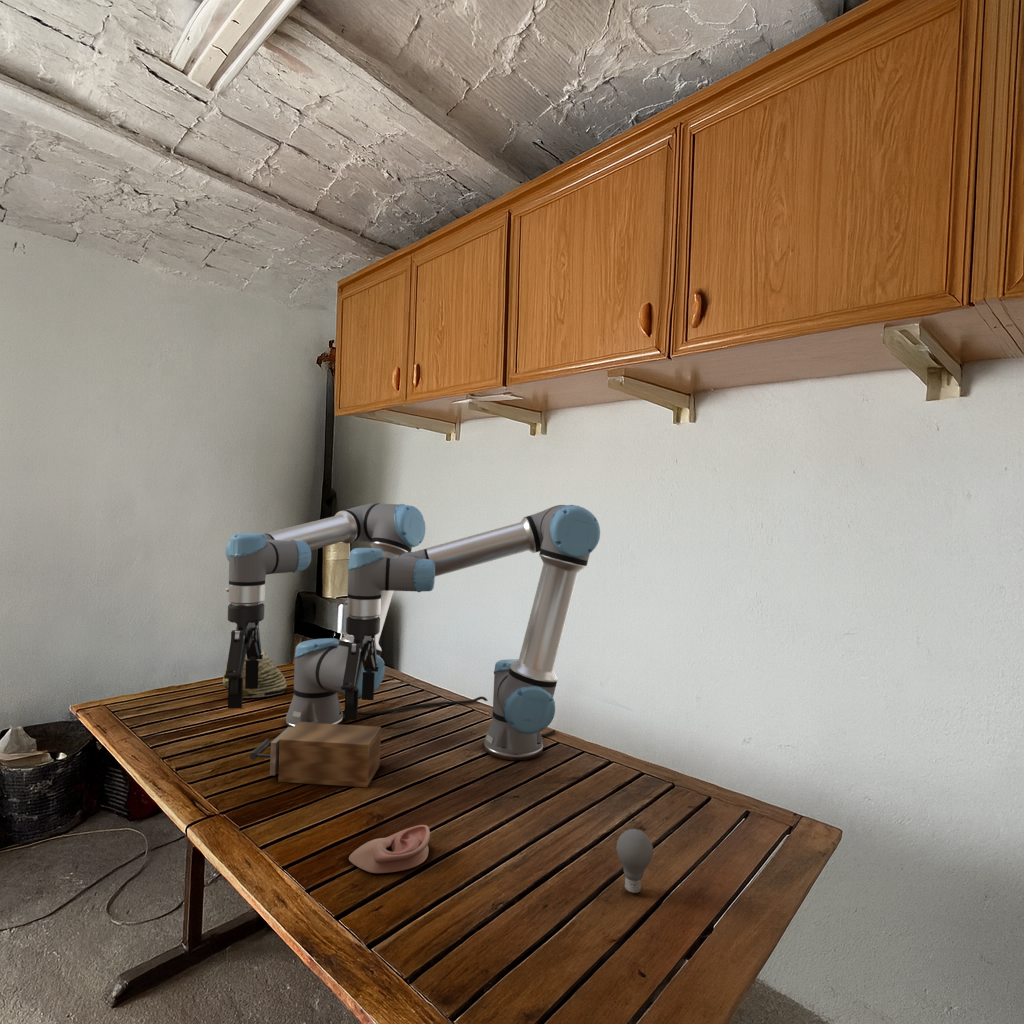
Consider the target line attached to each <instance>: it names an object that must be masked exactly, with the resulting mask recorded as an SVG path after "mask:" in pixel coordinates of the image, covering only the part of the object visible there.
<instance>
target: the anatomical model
mask: <svg viewBox="0 0 1024 1024" xmlns="http://www.w3.org/2000/svg"><path fill="white" fill-rule="evenodd" d="M430 838H431V830H430V827H429V826H428V825H427V824H419V825H413V826H411V827H409V828H405V829H403V830H400V831H398V832H396V833H393V834H391V835H389V836H386V837H379V838H375V839H372V840H369V841H367V842H365V843H364V844H362V845H360V846H358V848H356V849H355V850H353V852H352V853H350V855H349V857H348V860H349V862H350V863H351V864H352V865H354V866H356V867H357V868H358V869H361V870H363V871H365V872H367V873H369V874H370V873H371V874H387V873H388V874H389V873H396V872H401V871H405V870H409V869H412V868H415V867H418V866H419V865H421V864H422V863H425V861H426V860H427V859H428V856H429V842H430Z"/></svg>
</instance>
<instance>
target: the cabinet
mask: <svg viewBox="0 0 1024 1024" xmlns="http://www.w3.org/2000/svg"><path fill="white" fill-rule="evenodd" d="M381 736H382V726H373V725H358V724H357V725H356V724H355V725H354V724H323V723H306V722H298V723H297V724H296V725H295V726H294V727H293V728H292V729H291V730H290V731H289V732H287V733H286V734H285V735H284V736H283V737H282V738H281V739H280V748H279V772H278V775H277V776H278V777H277V778H278V779H277V782H278V783H290V784H291V783H293V784H306V785H307V784H308V785H322V786H324V785H325V786H340V787H355V788H368V787H369V785H370V783H371V781H372V780H373V778H374V776H375V775H376V773H377V772H378V770H379V768H380V766H381V764H380V763H381V741H382V737H381Z"/></svg>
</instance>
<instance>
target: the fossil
mask: <svg viewBox="0 0 1024 1024" xmlns="http://www.w3.org/2000/svg"><path fill="white" fill-rule="evenodd" d="M261 651H262V653H261V655H263V658H262V659H257V660H259V672H258V688H257V689H245V675H246V661H247V660H250V659H247V655H246V657H245V661H244V666H243V671H242V677H243V694H242V699H250V698H264V697H271V696H275V695H281V694H284V693H285V691H286V689H287V687H288V686H287V680H286V678H285V676H284V674H283V673H282V672H281V669H279V668H278V667H277V665H276V663H275V662H274V660H273V659H272V658H271V657H270V656H269V655H268V654H267V653H266V652H265V650H264V649H263V648H261ZM226 669H227V664H226V666H225V668H224V671H223V675H222V676H223V677H222V685H223V687H224V688H225V690H226V691H228V682H229V679H225V678H224V674H226ZM233 672H236V671H233Z"/></svg>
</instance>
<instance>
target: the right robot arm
mask: <svg viewBox="0 0 1024 1024" xmlns="http://www.w3.org/2000/svg"><path fill="white" fill-rule="evenodd" d="M600 539H601V526H600V524H599V521H598V519H597V517H596V516H595V514H593V512H592V511H590V510H588V509H587V508H585V507H582V506H580V505H576V504H575V505H574V504H558V505H554V506H551V507H548V508H545V509H544V510H542V511H538V512H536V513H534V514H530V515H526V516H524V517H523V518H521V520H520V522H516V523H513V524H509V525H506V526H501V527H498V528H494V529H491V530H488V531H484V532H480V533H476V534H473V535H470V536H466V537H465V536H464V537H462V538H459V539H454V540H451V541H447V542H444V543H440V544H436V545H434V546H430V547H426V548H423V549H419V550H414V551H411V552H406V553H404V554H401V556H399V557H398V558H387V557H384V555H383V551H382V550H381V549H377V548H372V547H355V548H353V549H352V550H351V551H350V552H349V558H348V559H349V560H348V568H347V599H346V600H345V602H344V604H345V605H346V615H347V617H346V618H345V621H346V622H345V633H346V635H347V634H349V635H353V636H354V641H353V642H352V643H349V645H348V656H347V662H346V667H345V673H344V679H343V685H342V686H341V690H345V695H344V711H343V712H344V715H343V720H346V721H347V720H348V721H349V720H350V721H357V720H358V716H359V715H358V712H359V698H358V693H359V689H357V687H358V682H359V678H360V673H361V669H362V665H363V667H364V671H366V672H363V679H362V698H361V700H362V701H374V699H375V692H374V680H375V672H378V670H379V667H377V665H378V663H377V653H376V643H375V635H376V634H378V633H379V632H380V618H379V617H378V616H379V615H380V614H381V591H382V590H384V591H394V592H415V593H416V592H417V593H421V592H432V591H433V590H434V588H435V581H436V580H435V579H436V577H439V576H442V575H445V574H450V573H453V572H457V571H460V570H464V569H468V568H471V567H475V566H478V565H482V564H485V563H489V562H493V561H496V560H500V559H503V558H507V557H511V556H513V555H518V554H522V553H525V552H530V553H532V554H536V553H539V554H538V555H539V558H540V559H541V562H542V568H541V571H540V576H539V579H538V583H537V587H536V590H535V594H534V599H533V604H532V607H531V610H530V615H529V618H528V622H527V625H526V630H525V633H524V637H523V642H522V645H521V649H520V653H519V657H518V658H509V659H500V660H497V661H496V662H495V664H494V670H493V675H494V676H493V700H492V716H491V717H492V718H491V721H490V724H489V727H488V729H487V731H486V734H485V737H484V741H483V749H484V751H485V752H486V753H487V754H488V755H490V756H492V757H494V758H496V759H500V760H505V761H527V760H531V759H535V758H537V757H540V756H541V755H542V753H543V752H544V740H543V737H548V736H551V735H552V734H555V733H556V729H553V730H550V731H548V732H546V733H541V732H543V730H546V729H547V727H549V726H550V724H551V723H552V722H553V720H554V717H555V715H556V701H555V699H554V696H555V692H556V687H557V684H558V679H559V678H558V676H557V675H556V672H555V665H556V661H557V657H558V654H559V649H560V646H561V642H562V638H563V634H564V631H565V626H566V622H567V619H568V614H569V611H570V606H571V602H572V599H573V596H574V591H575V587H576V584H577V579H578V575H579V574H580V572H581V571H582V570H584V569H586V568H588V567H587V566H588V562H589V559H590V554H591V553H592V552H594V550H595V549H596V548H597V546H598V544H599V542H600ZM373 671H374V672H373ZM350 683H351V684H350Z"/></svg>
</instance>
